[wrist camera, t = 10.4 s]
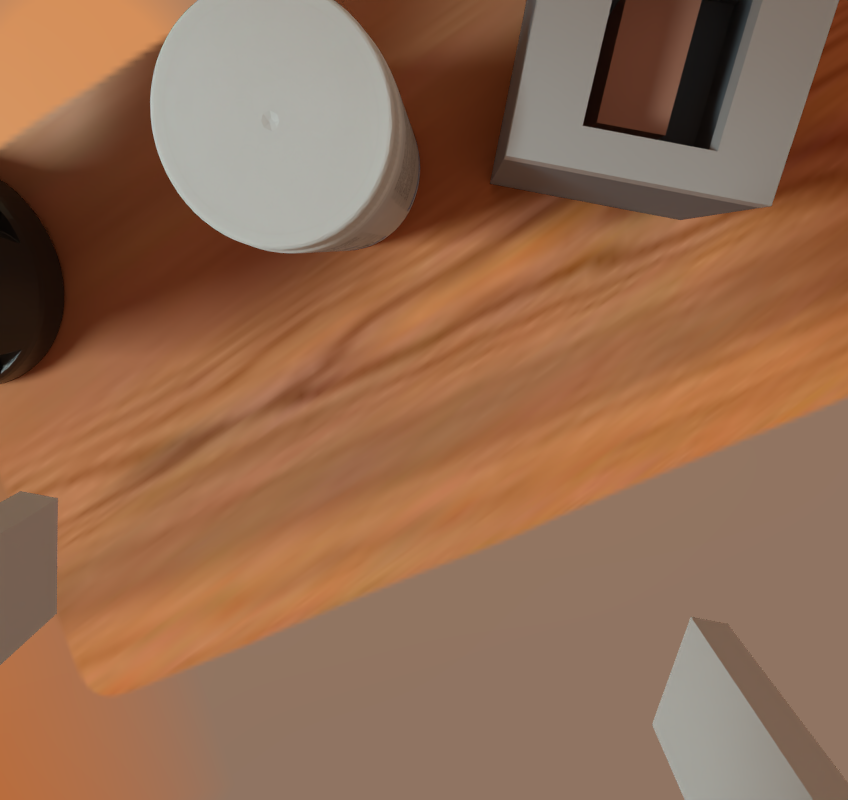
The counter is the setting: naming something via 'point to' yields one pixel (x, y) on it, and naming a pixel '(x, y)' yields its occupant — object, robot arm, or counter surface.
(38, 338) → the robot arm
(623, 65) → the block
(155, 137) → the supplement tub
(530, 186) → the box
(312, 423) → the counter surface
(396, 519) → the counter surface
